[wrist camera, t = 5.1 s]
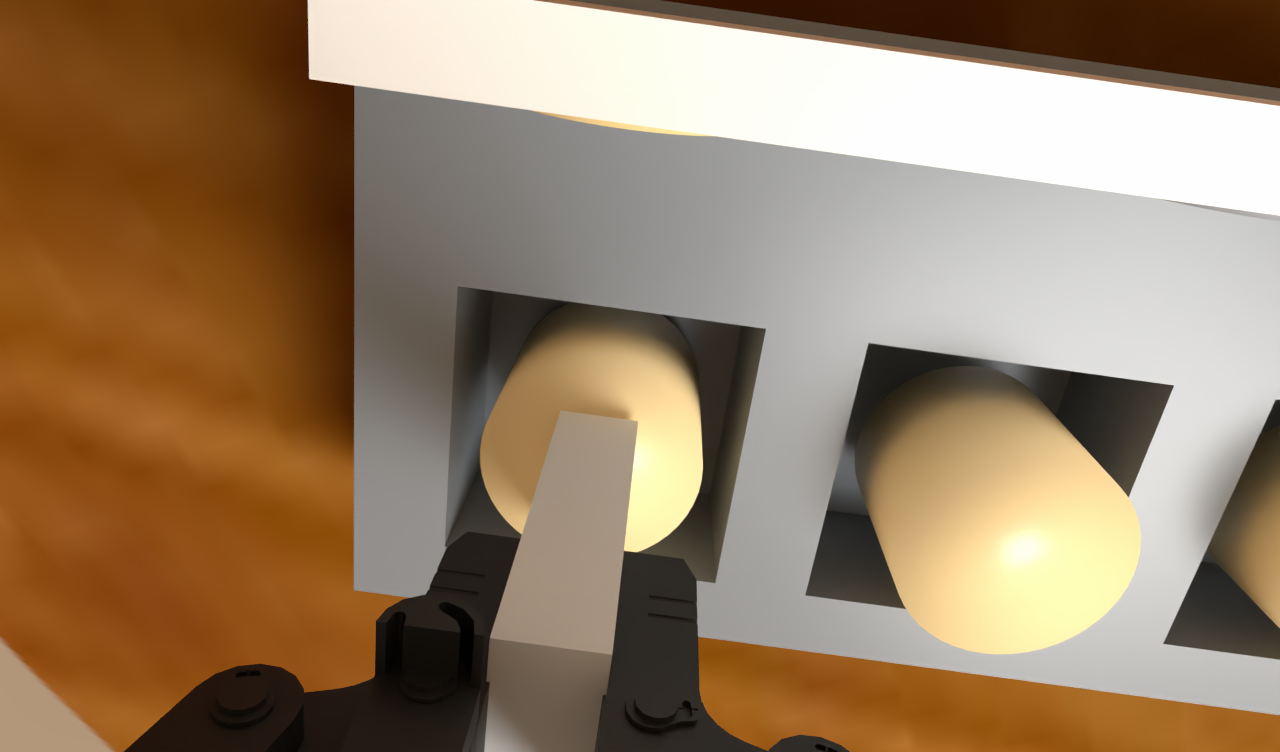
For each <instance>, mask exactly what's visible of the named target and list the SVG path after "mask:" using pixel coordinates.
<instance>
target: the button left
mask: <svg viewBox="0 0 1280 752" xmlns="http://www.w3.org/2000/svg"><path fill="white" fill-rule="evenodd" d="M560 410H561V411H568V412H576V413H583V414H590V415H597V416H605V417H612V418H619V419H626V420H634V421H638V428H637V437H636V446H635V455H634V464H633V473H632V482H631V491H630V500H629V509H628V518H627V527H626V536H625V545H624V551H630V552H639V551H641V550H644V549H647V548H648V547H650V546H652V545H654V544H656V543H658V542H659V541H661V540H662V539H663V538H665V537H666V536H668V535H669V534H670V533H671V532H672V531H673V530H674V529H676V528H677V527H678V526H679V525H680V523H681V522H682V521H683V520H684V518H685V517H686V516H687V514H688V513H689V511H690V509H691V508H692V506H693V504H694V502H695V500H696V497H697V495H698V493H699V489H700V485H701V481H702V472H703V457H702V435H701V413H700V391H699V374H698V368H697V363H696V360H695V358H694V355H693V352H692V350H691V348H690V346H689V344H688V342H687V341H686V339H685V338H684V336H683V335H682V334H681V332H680V331H679V330H678V329H677V328H676V327H675V326H674V325H673V324H672V323H671V322H670V321H669V320H668V319H667V318H665V317H664V316H663V315H661V314H655V313H648V312H641V311H634V310H626V309H619V308H612V307H605V306H597V305H590V304H583V303H576V302H571V303H568V304H566V305H564V306H562V307H560V308H558V309H556V310H555V311H553V312H552V313H550V314H549V315H547V316H546V317H545V318H544V319H543V320H541V321H540V322H539V323H538V324H537V326H536V327H535V328H534V329H533V330H532V331H531V333H530V334H529V336H528V337H527V339H526V340H525V343H524V345H523V347H522V349H521V351H520V353H519V355H518V357H517V359H516V362H515V364H514V366H513V368H512V370H511V372H510V374H509V376H508V378H507V381H506V383H505V385H504V387H503V389H502V391H501V393H500V395H499V397H498V400H497V402H496V404H495V406H494V408H493V410H492V412H491V414H490V416H489V419H488V421H487V423H486V425H485V428H484V432H483V435H482V440H481V447H480V466H481V472H482V477H483V480H484V484H485V487H486V490H487V492H488V494H489V496H490V498H491V500H492V502H493V503H494V505H495V507H496V508H497V510H498V511H499V513H500V514H501V515H502V516H503V517H504V519H505V520H506V521H507V522H508V523H509V524H510V525H511V526H512V527H513V528H514V529H515V530H517V531H518V532H519V533H520V534H522V533H523V530H524V526H525V523H526V520H527V517H528V513H529V510H530V507H531V504H532V501H533V497H534V494H535V491H536V488H537V484H538V481H539V478H540V475H541V472H542V468H543V465H544V462H545V459H546V456H547V452H548V449H549V446H550V443H551V439H552V436H553V433H554V430H555V427H556V423H557V420H558V417H559V414H560Z"/></svg>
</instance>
